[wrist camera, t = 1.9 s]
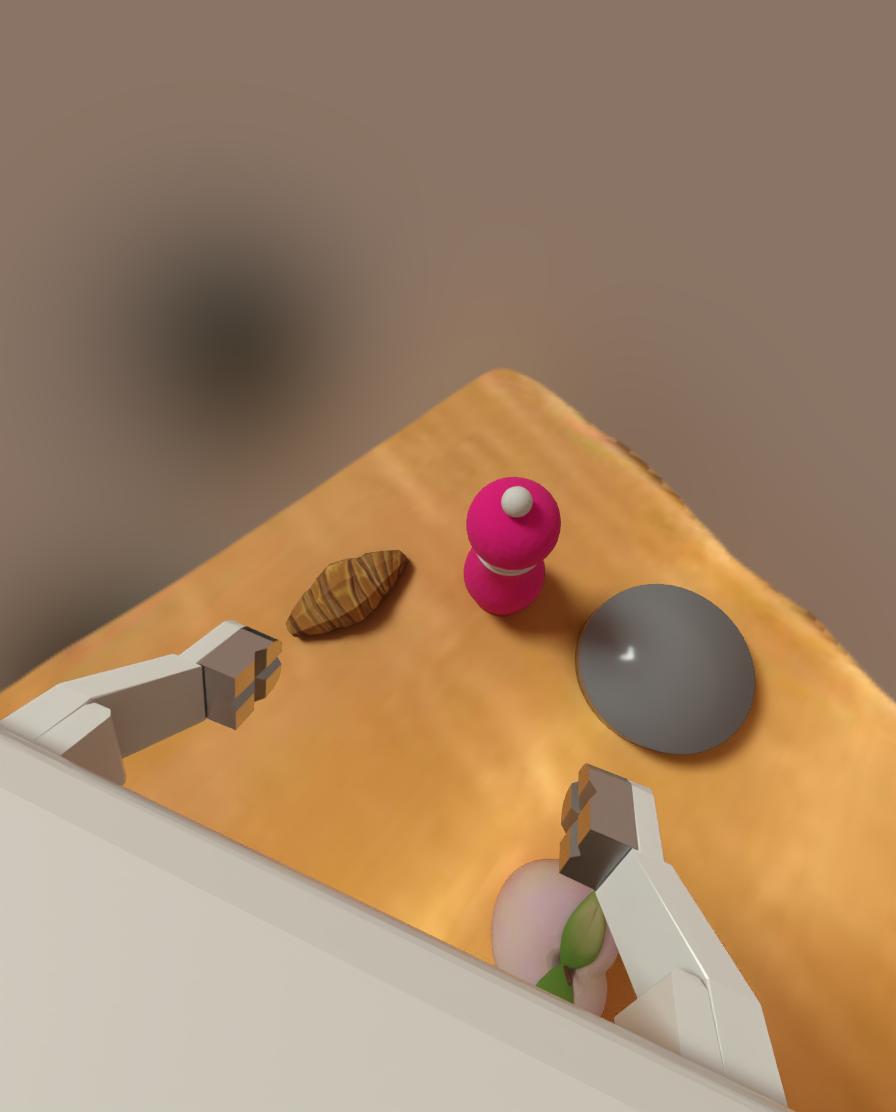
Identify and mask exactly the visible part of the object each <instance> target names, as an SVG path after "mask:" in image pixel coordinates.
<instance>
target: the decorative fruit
mask: <svg viewBox="0 0 896 1112" xmlns="http://www.w3.org/2000/svg"><path fill="white" fill-rule="evenodd" d="M595 892H596V890H594V889H591V888H589V887H587V886H585V885H583V884H581V883H579V882H577V881H575V880H573V879H570V878H568V877H566V876H564V875H562V874H560V873H559V859H541V860H536V861H532V862H530V863H527V864H525V865H523V866H521V867H520V868H518V869H517V870H516V871H514V872H513V873H512V874H511V875H510V876H509V878H508V879H507V880H506V881H505V883H504V885H503V886H502V888H501V890H500V893H499V895H498V897H497V900H496V903H495V907H494V911H493V916H492V926H491V937H492V951H493V957H494V962H495V966H496V967H498V968H500V969H502V970H504V971H506V972H508V973H510V974H512V975H514V976H516V977H518V978H520V979H522V980H525V981H527V982H529V983H531V984H533V985H535V986H537V987H539V988H541V989H543V990H545V991H547V992H549V993H551V994H553V995H555V996H558V997H560V998H562V999H564V1000H566V1001H568V1002H570V1003H572V1004H574V1005H576V1006H578V1007H580V1008H582V1009H584V1010H587V1011H589V1012H591V1013H593V1014H595V1015H597V1016H599V1017H601V1015H602V1013H603V1011H604V1007H605V1003H606V999H607V980H606V974H605V973H606V971H607V970H608V969H610V968H611V966H612V965H613V963H614V962H615V960H616V957H617V955H618V952H619V951H618V948H617V946H616V943H615V941H614V938H613V936H612V933H611V931H610V928H609V926H608V923H607V921H606V918H605V916H604V913H603V911H602V908H601V906H600V903H599V901H598V898H597V896H596V893H595Z"/></svg>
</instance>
